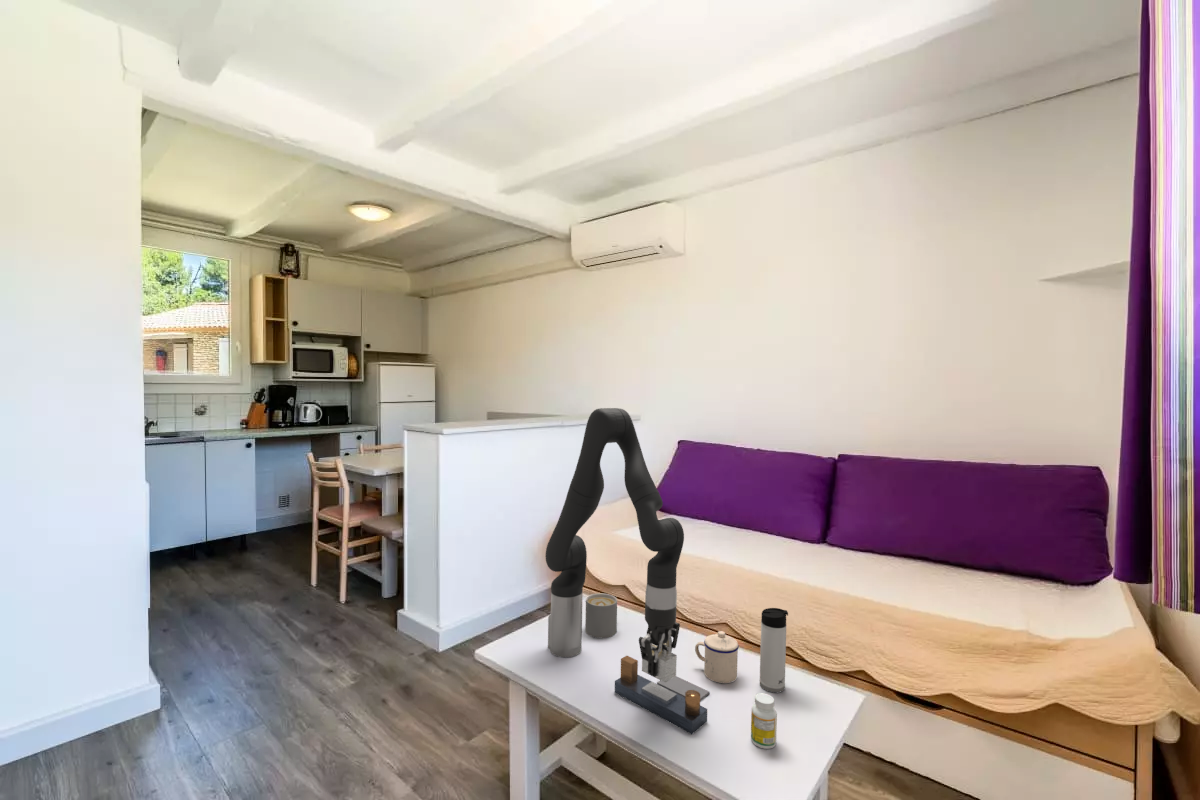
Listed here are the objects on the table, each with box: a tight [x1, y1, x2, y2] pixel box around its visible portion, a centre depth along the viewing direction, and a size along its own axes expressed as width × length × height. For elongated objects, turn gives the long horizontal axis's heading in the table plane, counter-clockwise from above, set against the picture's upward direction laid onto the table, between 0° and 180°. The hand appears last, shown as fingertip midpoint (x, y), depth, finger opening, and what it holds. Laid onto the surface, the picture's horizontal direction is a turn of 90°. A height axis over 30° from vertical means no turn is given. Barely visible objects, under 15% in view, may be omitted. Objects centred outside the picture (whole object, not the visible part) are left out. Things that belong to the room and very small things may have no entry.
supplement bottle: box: [750, 692, 778, 750], centre depth 116 cm, size 5×5×10 cm
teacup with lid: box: [694, 630, 740, 684], centre depth 143 cm, size 12×9×12 cm
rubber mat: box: [656, 675, 710, 702], centre depth 135 cm, size 12×6×1 cm, turn 47°
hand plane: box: [614, 655, 708, 735], centre depth 128 cm, size 23×6×8 cm, turn 47°
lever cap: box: [641, 644, 678, 682], centre depth 128 cm, size 7×4×6 cm, turn 47°
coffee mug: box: [584, 592, 618, 639], centre depth 168 cm, size 13×10×10 cm
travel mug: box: [759, 607, 789, 693], centre depth 137 cm, size 6×7×20 cm
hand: (658, 671), depth 128 cm, fingers closed on lever cap, 4 cm apart
